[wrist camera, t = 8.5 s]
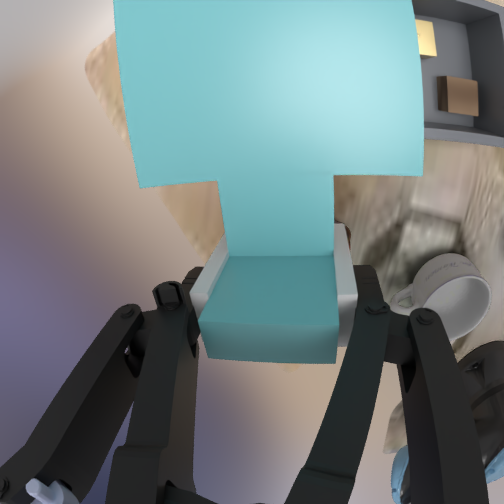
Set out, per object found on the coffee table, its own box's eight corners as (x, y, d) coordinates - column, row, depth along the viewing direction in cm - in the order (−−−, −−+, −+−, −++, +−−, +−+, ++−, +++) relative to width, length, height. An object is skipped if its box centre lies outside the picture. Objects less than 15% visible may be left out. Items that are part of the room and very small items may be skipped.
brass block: (427, 59, 25) (436, 56, 22) (394, 55, 26) (401, 52, 23) (423, 27, 23) (432, 22, 20) (389, 22, 24) (396, 17, 21)
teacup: (480, 250, 35) (505, 281, 28) (454, 311, 40) (470, 346, 33) (396, 234, 37) (413, 266, 30) (375, 302, 42) (383, 341, 35)
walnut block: (466, 113, 27) (478, 116, 24) (438, 110, 27) (448, 112, 25) (465, 81, 25) (477, 81, 22) (436, 76, 26) (446, 75, 23)
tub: (476, 134, 28) (514, 149, 20) (380, 127, 31) (401, 137, 23) (467, 20, 21) (504, 7, 13) (367, 4, 24) (384, -21, 16)
